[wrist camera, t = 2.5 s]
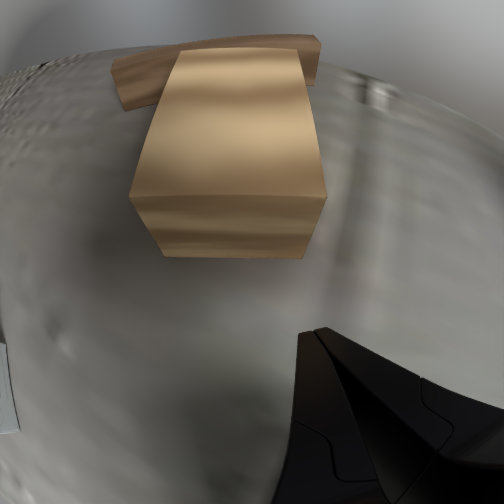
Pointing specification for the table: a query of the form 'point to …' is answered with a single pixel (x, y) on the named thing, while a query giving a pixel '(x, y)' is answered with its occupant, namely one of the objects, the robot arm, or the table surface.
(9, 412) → the small box
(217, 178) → the oak block
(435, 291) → the table surface
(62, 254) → the table surface
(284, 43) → the walnut board
